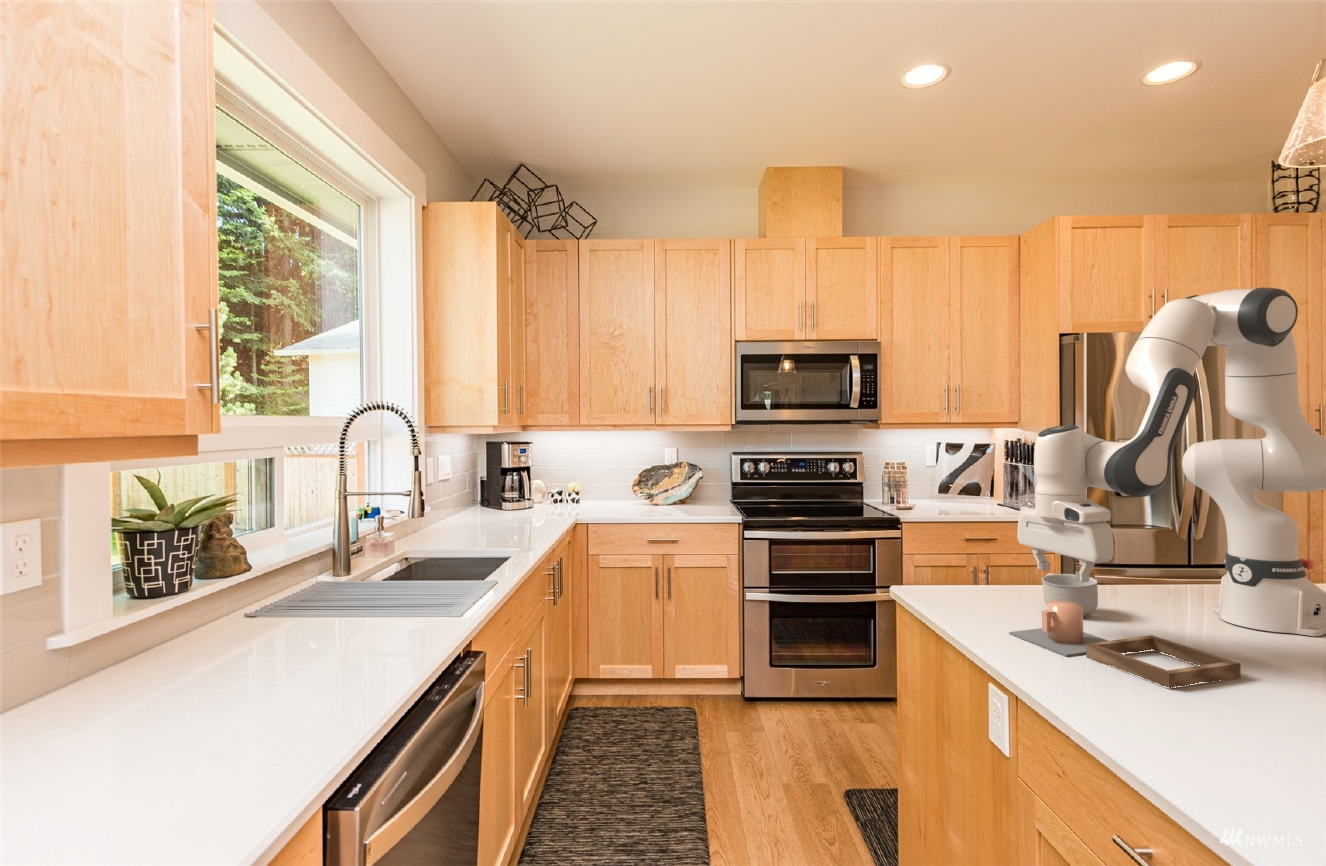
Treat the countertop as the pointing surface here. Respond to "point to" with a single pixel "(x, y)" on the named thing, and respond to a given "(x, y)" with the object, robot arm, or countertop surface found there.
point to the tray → (1206, 672)
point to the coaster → (1063, 649)
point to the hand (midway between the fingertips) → (1062, 575)
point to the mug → (1063, 621)
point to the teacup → (1071, 590)
